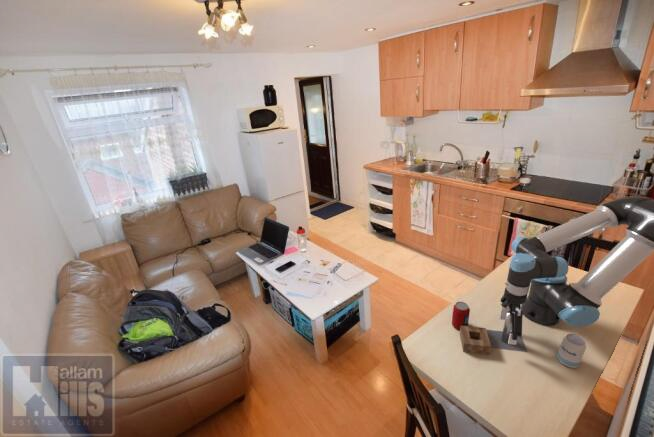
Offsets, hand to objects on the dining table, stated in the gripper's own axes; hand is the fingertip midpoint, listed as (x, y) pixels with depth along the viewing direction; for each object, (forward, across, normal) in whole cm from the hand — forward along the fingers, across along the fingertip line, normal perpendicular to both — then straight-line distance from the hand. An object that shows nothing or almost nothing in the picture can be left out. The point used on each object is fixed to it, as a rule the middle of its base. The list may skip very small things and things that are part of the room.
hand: (507, 330), depth 125 cm
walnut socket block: (+6, +4, -13) cm, 15 cm away
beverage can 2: (+6, +7, +20) cm, 22 cm away
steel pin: (+5, 0, 0) cm, 5 cm away
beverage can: (+6, -6, -17) cm, 19 cm away
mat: (+6, 0, 0) cm, 6 cm away
